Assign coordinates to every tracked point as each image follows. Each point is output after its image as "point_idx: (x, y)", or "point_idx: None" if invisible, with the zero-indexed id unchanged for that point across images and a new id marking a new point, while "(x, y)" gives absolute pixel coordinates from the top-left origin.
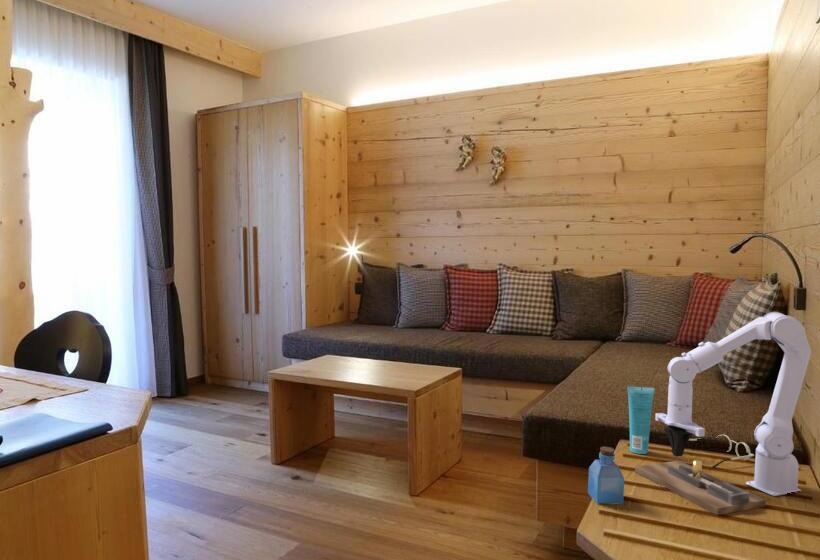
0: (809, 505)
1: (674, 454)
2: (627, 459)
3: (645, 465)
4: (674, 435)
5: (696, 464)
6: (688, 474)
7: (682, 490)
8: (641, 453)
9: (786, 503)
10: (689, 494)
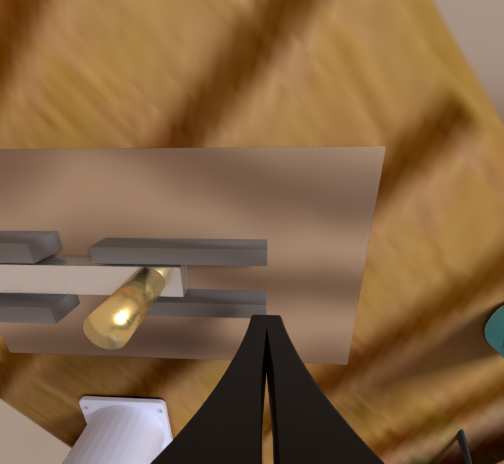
0: (36, 418)
1: (265, 317)
2: (496, 223)
3: (371, 207)
4: (222, 450)
5: (98, 308)
6: (178, 272)
7: (87, 151)
8: (496, 314)
9: (47, 389)
10: (48, 149)
